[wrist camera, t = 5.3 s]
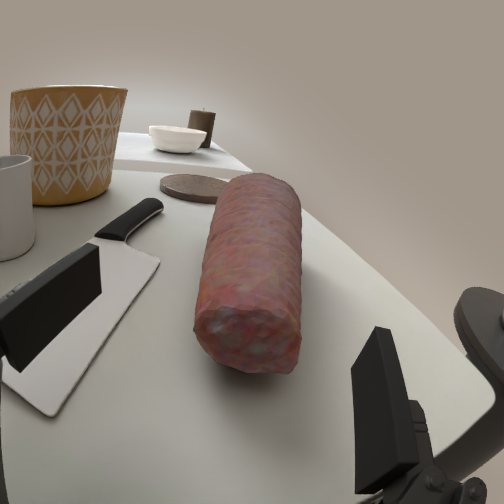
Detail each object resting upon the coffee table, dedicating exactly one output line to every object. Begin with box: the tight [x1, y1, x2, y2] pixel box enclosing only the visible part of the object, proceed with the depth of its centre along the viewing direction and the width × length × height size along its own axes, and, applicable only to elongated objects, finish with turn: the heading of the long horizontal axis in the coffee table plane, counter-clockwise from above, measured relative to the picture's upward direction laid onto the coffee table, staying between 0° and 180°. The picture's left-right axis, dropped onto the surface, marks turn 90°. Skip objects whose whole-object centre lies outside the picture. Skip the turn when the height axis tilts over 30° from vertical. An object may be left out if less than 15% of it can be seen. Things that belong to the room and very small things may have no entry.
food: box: [193, 173, 302, 374], centre depth 24 cm, size 21×9×9 cm, turn 1°
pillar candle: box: [188, 110, 216, 148], centre depth 103 cm, size 10×10×15 cm
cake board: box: [160, 174, 228, 203], centre depth 51 cm, size 14×14×1 cm
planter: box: [10, 85, 128, 206], centre depth 36 cm, size 19×19×16 cm
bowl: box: [149, 126, 207, 153], centre depth 84 cm, size 18×18×7 cm
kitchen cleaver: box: [1, 198, 164, 417], centre depth 24 cm, size 31×2×10 cm
